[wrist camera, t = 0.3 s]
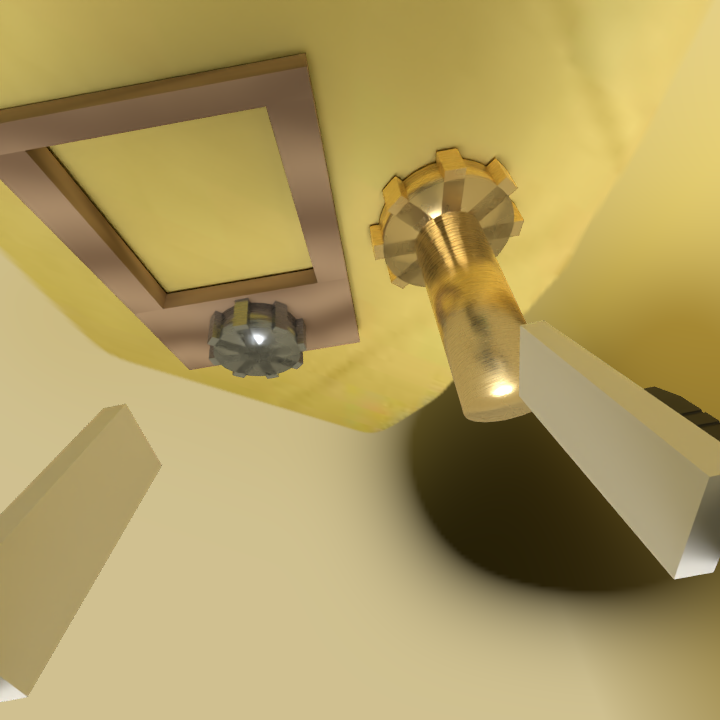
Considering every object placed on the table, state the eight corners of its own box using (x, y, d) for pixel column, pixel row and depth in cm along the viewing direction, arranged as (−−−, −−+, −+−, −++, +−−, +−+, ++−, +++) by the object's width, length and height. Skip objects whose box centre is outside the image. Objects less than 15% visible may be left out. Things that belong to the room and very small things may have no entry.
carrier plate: (-32, 116, 17) (-47, 132, 16) (305, 52, 17) (306, 66, 16) (191, 356, 35) (189, 369, 34) (357, 328, 34) (359, 341, 34)
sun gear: (191, 307, 27) (187, 334, 26) (291, 290, 27) (292, 316, 26) (232, 361, 34) (230, 384, 32) (314, 347, 33) (315, 370, 32)
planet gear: (363, 164, 21) (409, 368, 14) (531, 135, 21) (672, 325, 14) (375, 283, 30) (408, 450, 22) (496, 262, 29) (571, 425, 22)
